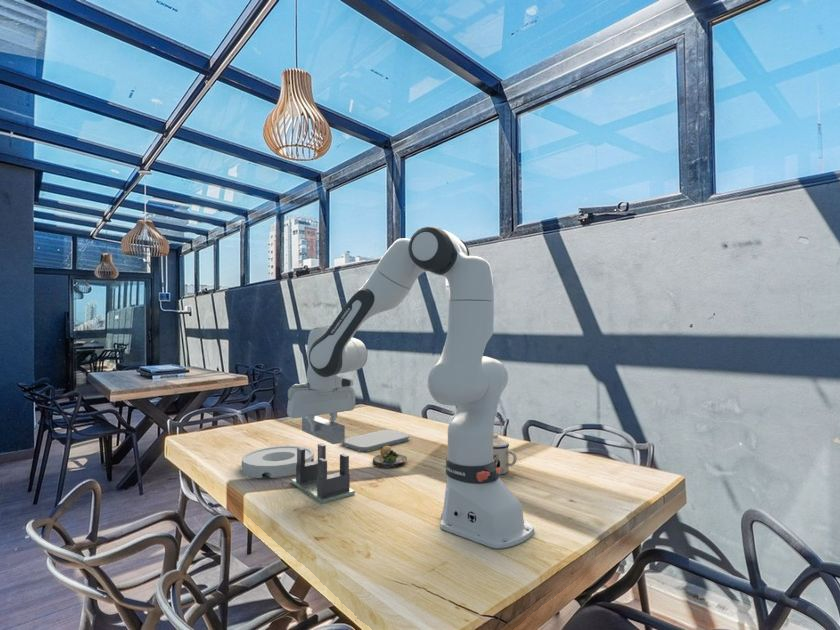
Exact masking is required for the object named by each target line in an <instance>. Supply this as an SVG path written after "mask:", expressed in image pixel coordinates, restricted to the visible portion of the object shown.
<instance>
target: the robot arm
mask: <svg viewBox="0 0 840 630" xmlns="http://www.w3.org/2000/svg"><path fill="white" fill-rule="evenodd" d="M425 272H430V273H431V274H432V275H433V274H434V275H435V276H442V277H445V278H446V280H447V283H448V291H449V292H448V293H449V294H448V319H447V322H448V323H447V333H446V337H445V338H446V339H445V343H444V345H443V348H442V352H441V354H440V356H439V359H438V361H437V362H436V363H435V364H434V366H433V367H432V368H431V370H430V371H429V374H428V376H427V388H428V391H429V394H430V396H431V398H432V399H433V400H434V401H436V402H437V403H439V404H441V405H444V406H445V405H446V406H453V407H454V406H455V407H457V408H456V410H455V413H454V415H453V417H452V419H451V421H450V422H449V424H448V427H447V457H446V459H445V474H446V476H447V478H446V479H447V480H446V486H445V492H444V501H443V508H442V511H441V515H440V517H441V521H440V525H439V526H440V527H439V528H440V529H441V530H443V531H445V532H448V533H451V534H454V535H457V536H459V537H462V538H465V539H468V540H470V541H473V542H475V543H478V544H481V545H484V546H487V547H489V548H491V549H505V548H510V547H513V546H516V545H518V544H520V543H524V541H526V540H528V539H529V538H531V537H532V536H533V534H534V533H535V527H534V525H533V524H532V523H530V522H529V521H527V520H525V518H524V512H523V506H522V503H521V502H520V500H519V499H518V498H517V497H516V496H515V494H514V493H513V492H512V491H511V490H510V489H509V487H508V486H507V485H506V484H505V482H503V481H502V480H501V478H500V474H499V472H502V471H499V470H501V469H502V467H499V468H497V466H496V463H495V460H494V459H493V434H494V426H495V420H496V416H497V411H498V408H499V403H500V400H501V397H502V394H503V391H504V390H505V389H506V387H507V384H508V381H509V375H508V371H507V368H506V367H505V365H504V363H502V362H501V361H500V360H498V359H496V358H493V357H489V356H484V351H485V350H486V346H487V344H488V342H489V340H490V339H491V337H492V336H493V334H494V321H495V319H494V316H495V315H494V313H495V312H494V309H495V302H494V301H495V291H494V288H495V287H494V280H493V273H492V268H491V264H490V263H489V261H487V260H486V259H485V258H482V257H480V256H477V255H471V252H470V249H469V247H468V245H467V244H466V243H465V242H464V241H463V240H462V239H460V238H458V237H457V235H455V234H453V233H451V232H449V231H447V230H445V229H442V228H440V227H437V226H425V227H422V228H420V229H418V230H416V231H415V232H414V233H413V234H412V236H411V238H406V237H405V238H403V237H402V238H397V239H396V240H395V241H394V242H393V243H392V244H391V245H390V246H389V248H388V249H387V250H386V251H385V253H384V254H383V255H382V257H381V258H380V259H379V262H378V263H377V265H376V267H375V268H374V270H373V271H372V272H371V274H370V276H369V277H368V278H367V280H366V281H365V283H364V284H363V285H362V286H361V287H360V288H359V289H358V290H357V291H356V292H355V293H354V294H353V295H352V296H351V297H350V299H348V301H347V303H346V304H345V305H344V307H343V308H342V309H341V310H340V312H339V313H338V315H337V317H336V318H334V321H333V322H332V323H331V325H325V326H319V327H318V326H317V327H315V328H313V329H311V330H310V332H309V334H308V339H307V345H306V346H307V347H306V348H307V349H306V351H307V352H306V356H307V361H308V367H307V370H306V382H305V383H299V384H298V383H295V384H292V385H291V386H290V387H289V388H288V390H287V398H288V399H287V400H288V401H287V408H286V414H287V416H288V417H289V418H290V419H300V418H301V419H302V417H307V420H308V421H309V423H310V425H311V431H313V432H314V431H318V425H317V424H315V423H314V421H313V420H314V419H315V416H321V415H322V416H323V415H328V414H329V416H330V417H329V420H330V421H333V422H336V420H337V418H338V413H343V412H344V413H345V412H350V411H351V412H352V411H354V409H355V407H356V392H355V390H354V388H353V386H354V380H353V379H350V378H348V377H344V376H342V375H340V374H344V373H350V372H355V371H358V370H360V369H362V368H363V367H364V366H365V365H366V363H367V360H368V349H367V347H366V346H367V345H365V343H364V342H363V341H362V340H360V339H358V338H355V337H354V335H355V334H356V333H357V332H358V330H359V328H360V327H361V326H362V325H363V323H365V321H367V320H368V319H370V318H372V317H373V316H375V315H377V314H381V313H383V312H387V311H390V310H392V309H395V308H396V307H398V306H399V305H400V304H401V303H402V302H403V301H404V299H405V298H406V297H407V295H408V294H409V292H410V290H412V288H413V285H414V284H415V282H416V281H417V279H418V278H419V276H420V275H422V274H423V273H425Z"/></svg>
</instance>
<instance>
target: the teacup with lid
mask: <svg viewBox="0 0 840 630" xmlns="http://www.w3.org/2000/svg"><path fill="white" fill-rule="evenodd" d="M509 447H510V443H509V442H508V441H507V440H506V439H502V437H500V436H499V435H498V434H497V433H493V459H494V460H495V463H496V466H497V468H499V467H502V469H501V470H499V471H502V472H499V475H504V474H506V473H508V472H509V467H512V466H514V465H515V464H516V463H517V454H516V452H514V451H513V450H511V449H509ZM509 454H510V455H512V458H513V460H512V463H509V461H510V460H509Z"/></svg>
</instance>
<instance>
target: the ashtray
mask: <svg viewBox="0 0 840 630" xmlns="http://www.w3.org/2000/svg"><path fill="white" fill-rule="evenodd" d="M299 447H301V448H303V449H305V463H308V462H312V461H315V451H314V450H313V449H311V448H309V447H306V446H300V445H277V446H270V447H269V446H267V447H262V448H260V449H255V450H252V451H250V452H247V453H246V454H244V455H243V456H242V457H241V473H242V474H244V475H245V476H248V477H251V478H258V479H263V474H264V475H265V476H267V477H269V478H271V479H274V478H275V479H276V478H285V477H289V476H290V477H291V476H294V475H295V476H296V465H297V448H299Z"/></svg>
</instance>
